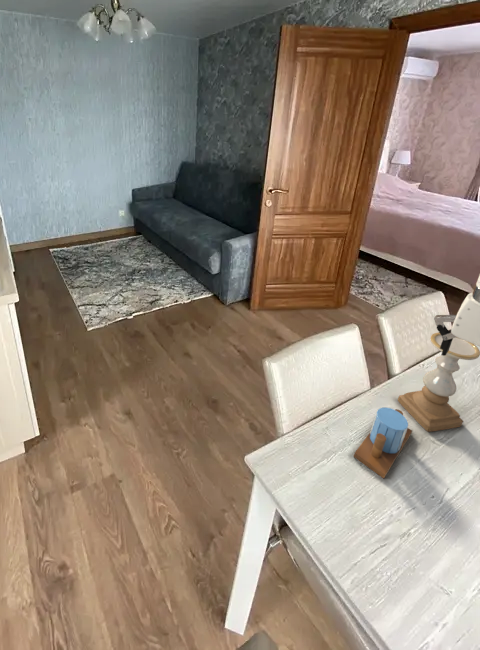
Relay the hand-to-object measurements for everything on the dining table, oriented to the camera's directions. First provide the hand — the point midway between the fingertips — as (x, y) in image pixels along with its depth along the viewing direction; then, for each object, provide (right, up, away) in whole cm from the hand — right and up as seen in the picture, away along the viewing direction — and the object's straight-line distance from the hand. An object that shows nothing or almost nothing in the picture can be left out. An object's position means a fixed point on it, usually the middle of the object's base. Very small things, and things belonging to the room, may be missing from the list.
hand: (470, 363), depth 77 cm
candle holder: (+5, -21, +20) cm, 29 cm away
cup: (-13, -23, +10) cm, 28 cm away
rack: (-13, -25, +10) cm, 30 cm away
